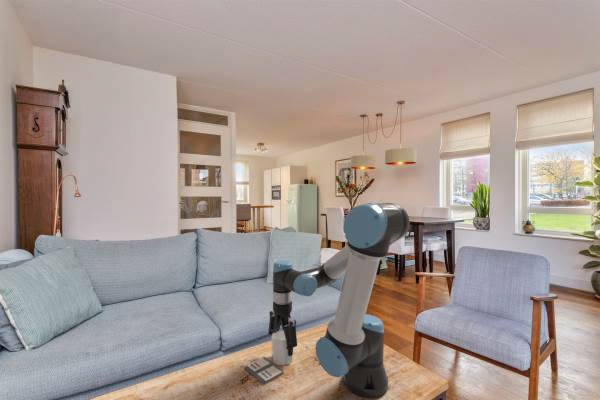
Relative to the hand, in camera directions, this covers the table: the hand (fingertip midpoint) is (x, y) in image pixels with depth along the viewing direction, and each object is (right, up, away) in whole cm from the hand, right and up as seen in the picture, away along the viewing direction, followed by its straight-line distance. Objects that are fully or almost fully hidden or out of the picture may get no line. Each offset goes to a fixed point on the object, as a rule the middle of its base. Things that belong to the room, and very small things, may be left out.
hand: (282, 358), depth 113 cm
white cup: (0, -1, 0) cm, 1 cm away
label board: (-6, -1, -7) cm, 10 cm away
